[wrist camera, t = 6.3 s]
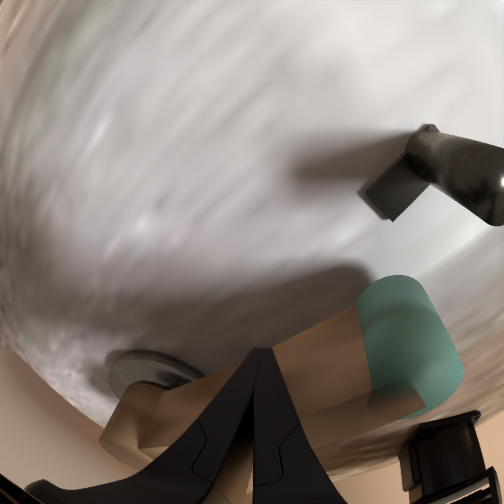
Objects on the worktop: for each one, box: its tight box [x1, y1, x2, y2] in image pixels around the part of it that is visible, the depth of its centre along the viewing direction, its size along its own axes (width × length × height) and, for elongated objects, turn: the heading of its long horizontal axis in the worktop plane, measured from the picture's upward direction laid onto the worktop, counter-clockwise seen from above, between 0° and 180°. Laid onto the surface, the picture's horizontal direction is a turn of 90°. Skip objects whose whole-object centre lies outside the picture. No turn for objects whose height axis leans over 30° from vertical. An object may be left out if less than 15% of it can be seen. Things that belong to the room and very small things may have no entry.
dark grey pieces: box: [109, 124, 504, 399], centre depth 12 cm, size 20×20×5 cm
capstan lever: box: [99, 275, 464, 471], centre depth 12 cm, size 20×5×4 cm, turn 130°
